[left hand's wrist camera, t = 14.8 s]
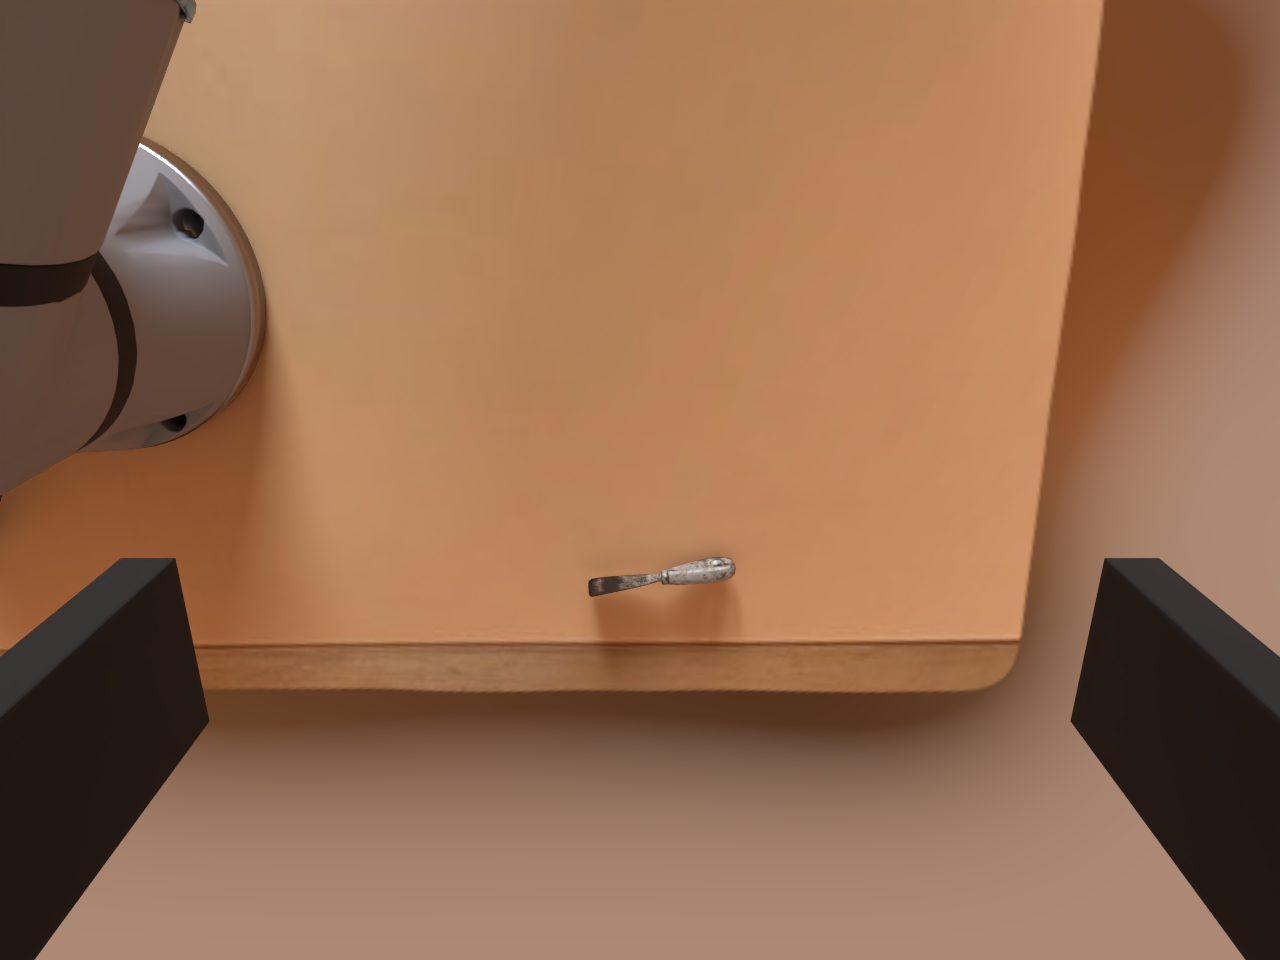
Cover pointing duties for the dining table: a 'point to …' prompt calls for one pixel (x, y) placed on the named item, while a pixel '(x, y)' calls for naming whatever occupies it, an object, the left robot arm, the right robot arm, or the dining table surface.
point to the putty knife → (668, 576)
